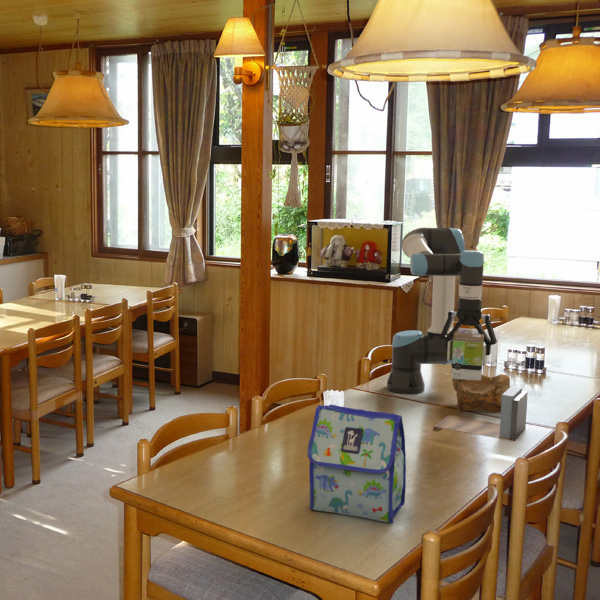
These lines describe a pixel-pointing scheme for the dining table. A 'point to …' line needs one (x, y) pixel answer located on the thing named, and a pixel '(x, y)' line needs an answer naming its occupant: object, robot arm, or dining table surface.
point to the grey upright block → (507, 410)
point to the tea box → (467, 354)
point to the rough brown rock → (481, 393)
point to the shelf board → (470, 426)
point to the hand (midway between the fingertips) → (466, 362)
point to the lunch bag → (357, 463)
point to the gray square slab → (518, 415)
